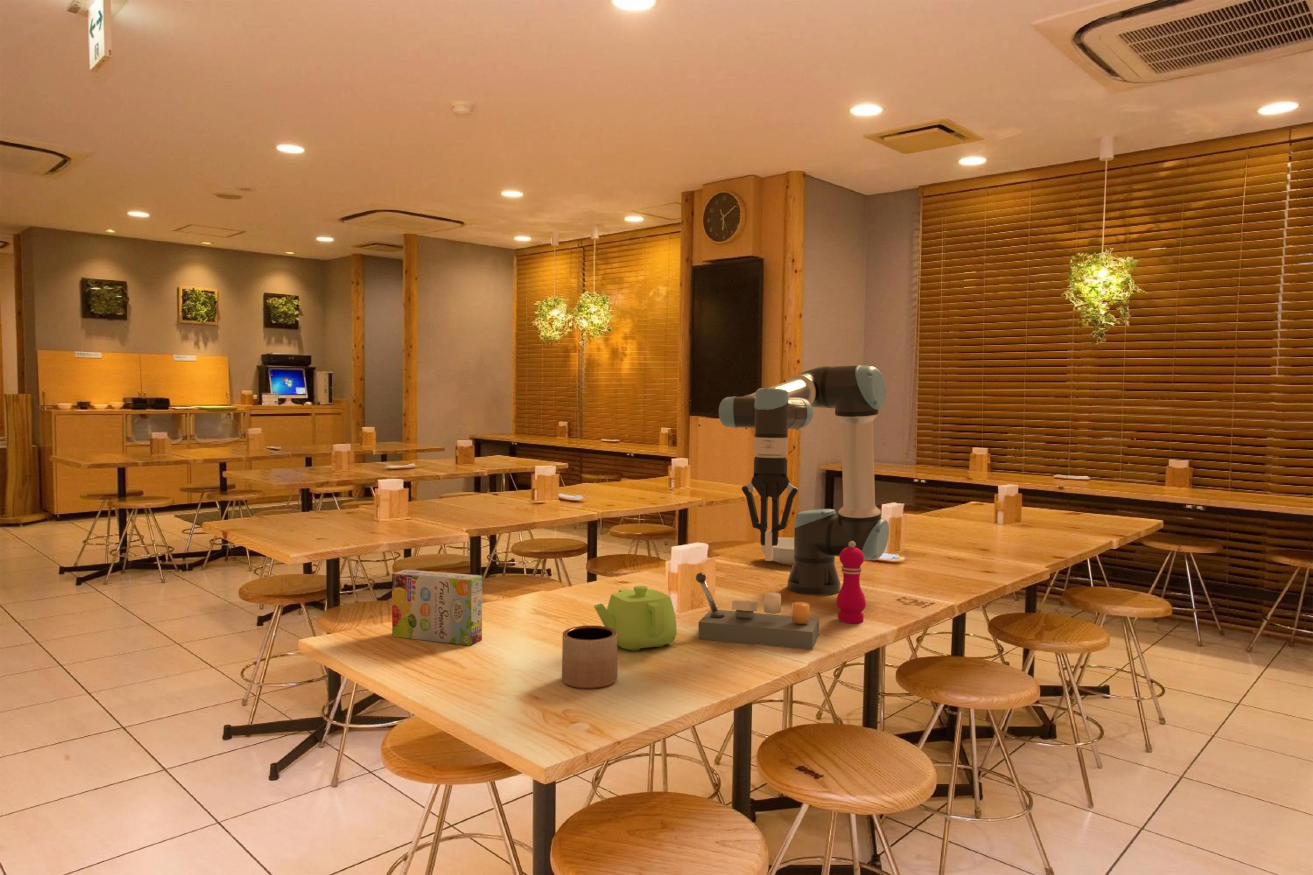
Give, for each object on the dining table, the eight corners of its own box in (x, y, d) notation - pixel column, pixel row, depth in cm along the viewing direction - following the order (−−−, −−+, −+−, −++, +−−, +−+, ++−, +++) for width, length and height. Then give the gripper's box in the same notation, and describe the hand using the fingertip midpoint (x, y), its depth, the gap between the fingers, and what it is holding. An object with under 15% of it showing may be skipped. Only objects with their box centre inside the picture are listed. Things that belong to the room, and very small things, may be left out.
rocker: (740, 609, 199) (741, 600, 199) (757, 610, 198) (757, 601, 198) (731, 609, 190) (732, 599, 190) (749, 610, 188) (749, 601, 189)
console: (711, 625, 203) (711, 601, 202) (818, 635, 195) (819, 610, 194) (698, 638, 191) (698, 613, 191) (812, 649, 183) (812, 623, 183)
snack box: (483, 639, 190) (483, 574, 189) (470, 646, 184) (470, 579, 184) (405, 630, 197) (404, 567, 196) (390, 637, 191) (389, 572, 191)
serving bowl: (759, 567, 272) (759, 546, 271) (761, 555, 292) (762, 536, 292) (824, 570, 268) (824, 549, 268) (822, 558, 289) (822, 538, 289)
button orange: (793, 618, 192) (793, 601, 192) (810, 619, 191) (810, 602, 191) (790, 622, 189) (791, 605, 188) (807, 624, 187) (808, 606, 187)
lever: (712, 612, 197) (695, 573, 198) (721, 608, 197) (704, 570, 198) (709, 614, 195) (693, 575, 196) (718, 611, 194) (701, 572, 195)
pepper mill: (866, 624, 204) (867, 544, 203) (836, 623, 205) (837, 542, 204) (864, 617, 211) (866, 539, 210) (835, 615, 212) (837, 538, 211)
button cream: (765, 608, 194) (765, 591, 194) (781, 609, 193) (782, 592, 193) (762, 612, 190) (762, 595, 190) (779, 614, 189) (779, 596, 189)
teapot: (613, 663, 174) (613, 601, 173) (577, 638, 191) (577, 582, 191) (689, 651, 182) (690, 592, 181) (648, 628, 200) (648, 575, 199)
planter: (562, 672, 168) (562, 625, 167) (616, 670, 169) (616, 624, 168) (561, 691, 157) (561, 641, 156) (618, 689, 158) (618, 640, 157)
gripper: (739, 456, 186) (737, 560, 187) (797, 458, 182) (795, 564, 184) (745, 454, 193) (743, 554, 194) (801, 456, 190) (799, 558, 191)
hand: (768, 559), depth 189 cm, fingers closed
